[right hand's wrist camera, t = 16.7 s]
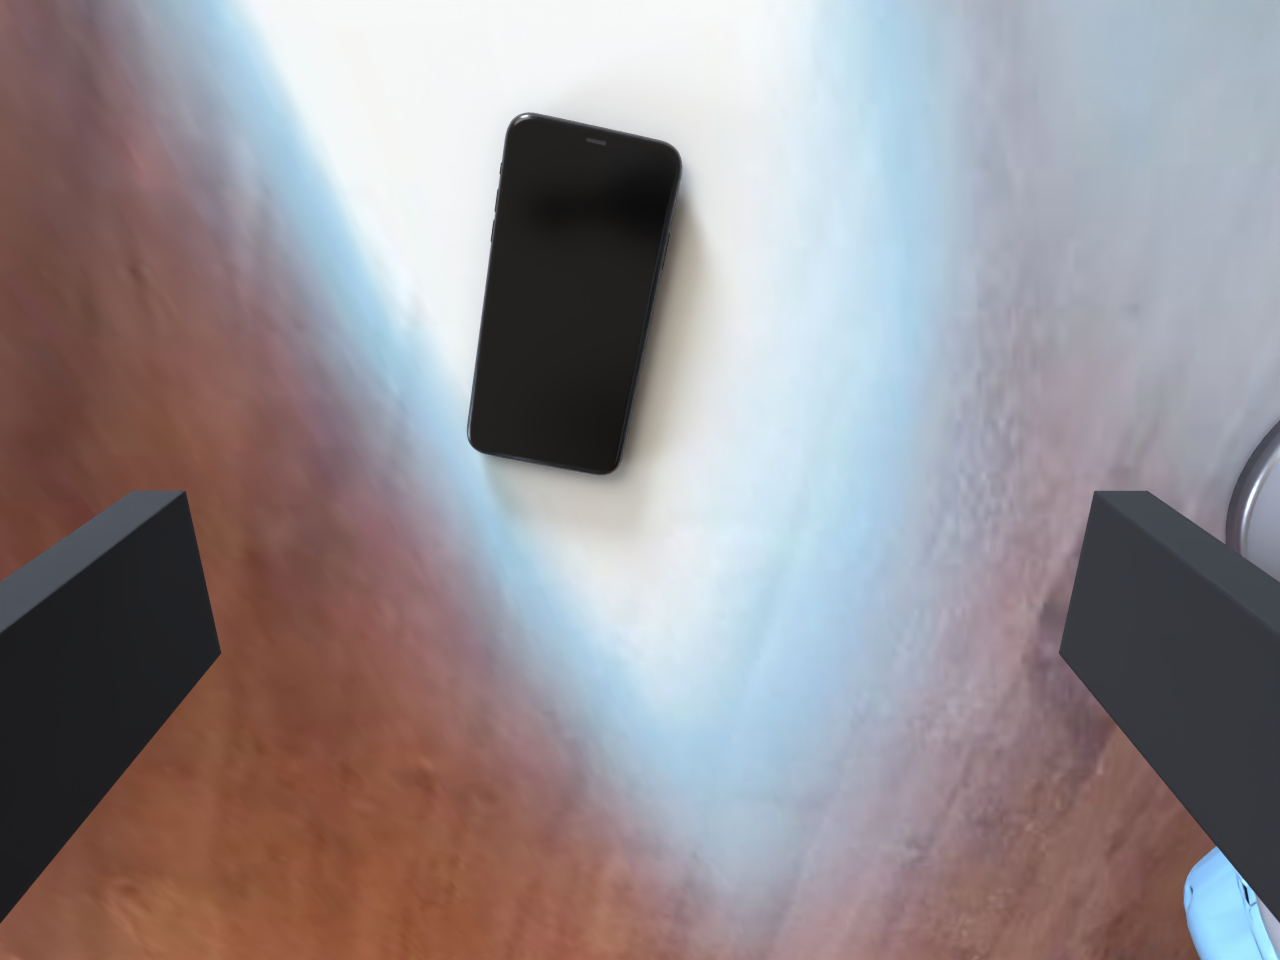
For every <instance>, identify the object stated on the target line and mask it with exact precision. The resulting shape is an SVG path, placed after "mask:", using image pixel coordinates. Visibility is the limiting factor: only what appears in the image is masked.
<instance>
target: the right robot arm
mask: <svg viewBox="0 0 1280 960" xmlns="http://www.w3.org/2000/svg"><path fill="white" fill-rule="evenodd" d="M1226 543H1227V545H1225V544H1224V543H1222V542H1221V541H1219V540H1218V539H1216V538H1215V537H1214V536H1212V535H1211V534H1209V533H1208V532H1206V531H1205V530H1203V529H1202V528H1200V527H1199V526H1198V525H1196V524H1195V523H1193V522H1192V521H1190V520H1189V519H1187V518H1186V517H1185V516H1183V515H1182V514H1180V513H1179V512H1177V511H1176V510H1174V509H1173V508H1171V507H1170V506H1169V505H1167V504H1166V503H1164V502H1163V501H1161V500H1160V499H1158V498H1157V497H1156V496H1154V495H1153V494H1151V493H1150V492H1148V491H1094V495H1093V500H1092V504H1091V509H1090V513H1089V518H1088V523H1087V527H1086V532H1085V536H1084V541H1083V545H1082V550H1081V555H1080V559H1079V564H1078V568H1077V573H1076V577H1075V582H1074V587H1073V591H1072V596H1071V600H1070V605H1069V609H1068V614H1067V619H1066V623H1065V628H1064V632H1063V637H1062V641H1061V646H1060V651H1059V654H1060V655H1061V656H1062V658H1063V659H1064V660H1065V661H1066V663H1067V664H1068V665H1069V666H1070V668H1071V669H1072V670H1073V671H1074V672H1075V674H1076V675H1077V676H1078V677H1079V679H1080V680H1081V681H1082V682H1083V683H1084V685H1085V686H1086V687H1087V688H1088V690H1089V691H1090V692H1091V693H1092V694H1093V696H1094V697H1095V698H1096V699H1097V701H1098V702H1099V703H1100V704H1101V705H1102V707H1103V708H1104V709H1105V710H1106V712H1107V713H1108V714H1109V715H1110V716H1111V718H1112V719H1113V720H1114V721H1115V723H1116V724H1117V725H1118V726H1119V727H1120V729H1121V730H1122V731H1123V732H1124V734H1125V735H1126V736H1127V737H1128V738H1129V740H1130V741H1131V742H1132V743H1133V745H1134V746H1135V747H1136V748H1137V749H1138V751H1139V752H1140V753H1141V754H1142V756H1143V757H1144V758H1145V759H1146V760H1147V762H1148V763H1149V764H1150V765H1151V767H1152V768H1153V769H1154V770H1155V771H1156V773H1157V774H1158V775H1159V776H1160V778H1161V779H1162V780H1163V781H1164V782H1165V784H1166V785H1167V786H1168V787H1169V789H1170V790H1171V791H1172V792H1173V793H1174V795H1175V796H1176V797H1177V798H1178V800H1179V801H1180V802H1181V803H1182V804H1183V806H1184V807H1185V808H1186V809H1187V811H1188V812H1189V813H1190V814H1191V815H1192V817H1193V818H1194V819H1195V820H1196V822H1197V823H1198V824H1199V825H1200V826H1201V828H1202V829H1203V830H1204V831H1205V833H1206V834H1207V835H1208V836H1209V837H1210V839H1211V840H1212V841H1213V842H1214V844H1215V845H1216V847H1215V848H1214V849H1212V850H1211V851H1210V852H1209V853H1208V854H1207V855H1205V856H1204V857H1203V858H1202V859H1201V860H1200V861H1199V862H1198V863H1197V864H1196V865H1195V866H1194V867H1193V868H1192V870H1191V871H1190V873H1189V875H1188V877H1187V879H1186V882H1185V886H1184V907H1185V911H1186V918H1187V925H1188V928H1189V931H1190V934H1191V937H1192V940H1193V943H1194V945H1195V948H1196V950H1197V952H1198V955H1199V957H1200V959H1201V960H1280V421H1279V422H1278V423H1277V424H1276V425H1275V426H1274V427H1273V428H1272V430H1271V431H1270V432H1269V433H1268V434H1267V435H1266V436H1265V438H1264V439H1263V440H1262V441H1261V443H1260V444H1259V445H1258V447H1257V448H1256V449H1255V451H1254V452H1253V454H1252V456H1251V457H1250V459H1249V460H1248V462H1247V463H1246V465H1245V467H1244V469H1243V471H1242V473H1241V475H1240V477H1239V479H1238V482H1237V484H1236V486H1235V489H1234V492H1233V495H1232V498H1231V501H1230V505H1229V510H1228V515H1227V524H1226ZM220 654H221V651H220V646H219V641H218V637H217V632H216V628H215V623H214V619H213V614H212V609H211V605H210V600H209V596H208V591H207V587H206V582H205V577H204V573H203V568H202V564H201V559H200V555H199V550H198V545H197V541H196V536H195V532H194V527H193V523H192V518H191V513H190V509H189V504H188V500H187V495H186V491H132V492H130V493H129V494H127V495H126V496H124V497H123V498H122V499H120V500H119V501H117V502H116V503H114V504H113V505H111V506H110V507H109V508H107V509H106V510H104V511H103V512H101V513H100V514H98V515H97V516H95V517H94V518H93V519H91V520H90V521H88V522H87V523H85V524H84V525H82V526H81V527H80V528H78V529H77V530H75V531H74V532H72V533H71V534H69V535H68V536H66V537H65V538H64V539H62V540H61V541H59V542H58V543H56V544H55V545H53V546H52V547H51V548H49V549H48V550H46V551H45V552H43V553H42V554H40V555H39V556H37V557H36V558H35V559H33V560H32V561H30V562H29V563H27V564H26V565H24V566H23V567H21V568H20V569H19V570H17V571H16V572H14V573H13V574H11V575H10V576H8V577H7V578H6V579H4V580H3V581H1V582H0V923H1V922H2V921H3V919H4V918H5V917H6V916H7V915H8V913H9V912H10V911H11V910H12V908H13V907H14V906H15V905H16V904H17V902H18V901H19V900H20V899H21V897H22V896H23V895H24V894H25V893H26V891H27V890H28V889H29V888H30V886H31V885H32V884H33V883H34V882H35V880H36V879H37V878H38V877H39V875H40V874H41V873H42V872H43V871H44V869H45V868H46V867H47V866H48V864H49V863H50V862H51V861H52V860H53V858H54V857H55V856H56V855H57V853H58V852H59V851H60V850H61V848H62V847H63V846H64V845H65V844H66V842H67V841H68V840H69V839H70V837H71V836H72V835H73V834H74V833H75V831H76V830H77V829H78V828H79V826H80V825H81V824H82V823H83V822H84V820H85V819H86V818H87V817H88V815H89V814H90V813H91V812H92V811H93V809H94V808H95V807H96V806H97V804H98V803H99V802H100V801H101V800H102V798H103V797H104V796H105V795H106V793H107V792H108V791H109V790H110V789H111V787H112V786H113V785H114V784H115V782H116V781H117V780H118V779H119V778H120V776H121V775H122V774H123V773H124V771H125V770H126V769H127V768H128V767H129V765H130V764H131V763H132V762H133V760H134V759H135V758H136V757H137V756H138V754H139V753H140V752H141V751H142V749H143V748H144V747H145V746H146V745H147V743H148V742H149V741H150V740H151V738H152V737H153V736H154V735H155V734H156V732H157V731H158V730H159V729H160V727H161V726H162V725H163V724H164V723H165V721H166V720H167V719H168V718H169V716H170V715H171V714H172V713H173V712H174V710H175V709H176V708H177V707H178V705H179V704H180V703H181V702H182V701H183V699H184V698H185V697H186V696H187V694H188V693H189V692H190V691H191V690H192V688H193V687H194V686H195V685H196V683H197V682H198V681H199V680H200V679H201V677H202V676H203V675H204V674H205V672H206V671H207V670H208V669H209V668H210V666H211V665H212V664H213V663H214V661H215V660H216V659H217V658H218V656H219V655H220Z"/></svg>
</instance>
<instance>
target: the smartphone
mask: <svg viewBox="0 0 1280 960" xmlns="http://www.w3.org/2000/svg"><path fill="white" fill-rule="evenodd" d="M681 174H682V160H681V157H680V154H679V152H678V151H677V150H676V149H675V148H674V147H673V146H672V145H671V144H669V143H667V142H664V141H661V140H657V139H652V138H648V137H643V136H639V135H634V134H630V133H625V132H621V131H616V130H612V129H607V128H603V127H598V126H594V125H589V124H584V123H580V122H575V121H571V120H566V119H561V118H557V117H552V116H547V115H543V114H538V113H523V114H520V115H518V116H516V117H515V118H514V119H513V120H512V121H511V123H510V124H509V126H508V129H507V132H506V136H505V143H504V150H503V158H502V162H501V167H500V181H499V188H498V190H497V197H496V205H495V219H494V221H493V228H492V235H491V249H490V257H489V264H488V272H487V279H486V287H485V295H484V302H483V310H482V317H481V325H480V333H479V340H478V348H477V355H476V363H475V371H474V378H473V386H472V393H471V401H470V409H469V416H468V424H467V437H468V440H469V443H470V444H471V446H472V447H473V448H474V449H475V450H477V451H479V452H481V453H483V454H487V455H492V456H497V457H502V458H507V459H513V460H518V461H523V462H529V463H534V464H539V465H544V466H550V467H555V468H560V469H566V470H571V471H577V472H582V473H588V474H593V475H607V474H610V473H612V472H614V471H615V470H616V469H617V468H618V466H619V465H620V463H621V460H622V457H623V453H624V448H625V443H626V438H627V434H628V429H629V424H630V419H631V414H632V410H633V405H634V400H635V395H636V391H637V386H638V381H639V376H640V371H641V367H642V362H643V357H644V352H645V347H646V343H647V338H648V333H649V328H650V323H651V319H652V314H653V309H654V304H655V299H656V295H657V290H658V285H659V280H660V276H661V271H662V269H663V265H664V260H665V255H666V250H667V246H668V241H669V236H670V233H669V232H670V228H671V223H672V218H673V213H674V208H675V204H676V199H677V194H678V189H679V184H680V180H681Z"/></svg>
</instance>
